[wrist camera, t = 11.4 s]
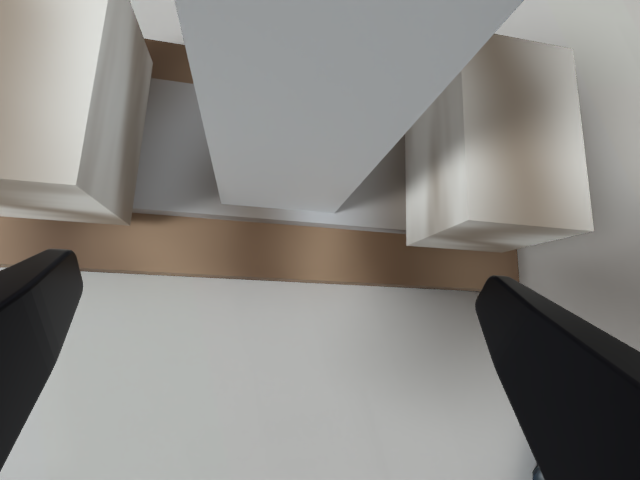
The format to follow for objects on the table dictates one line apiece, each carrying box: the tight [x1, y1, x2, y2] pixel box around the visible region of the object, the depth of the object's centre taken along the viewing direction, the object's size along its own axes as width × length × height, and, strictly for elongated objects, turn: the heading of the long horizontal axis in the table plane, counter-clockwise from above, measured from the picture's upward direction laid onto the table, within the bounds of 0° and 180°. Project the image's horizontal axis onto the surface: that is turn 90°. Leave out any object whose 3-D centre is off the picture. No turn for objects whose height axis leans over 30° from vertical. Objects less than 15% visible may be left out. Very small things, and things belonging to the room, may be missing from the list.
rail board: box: [0, 0, 594, 291], centre depth 16 cm, size 25×11×7 cm, turn 88°
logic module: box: [175, 0, 524, 213], centre depth 11 cm, size 5×5×12 cm
